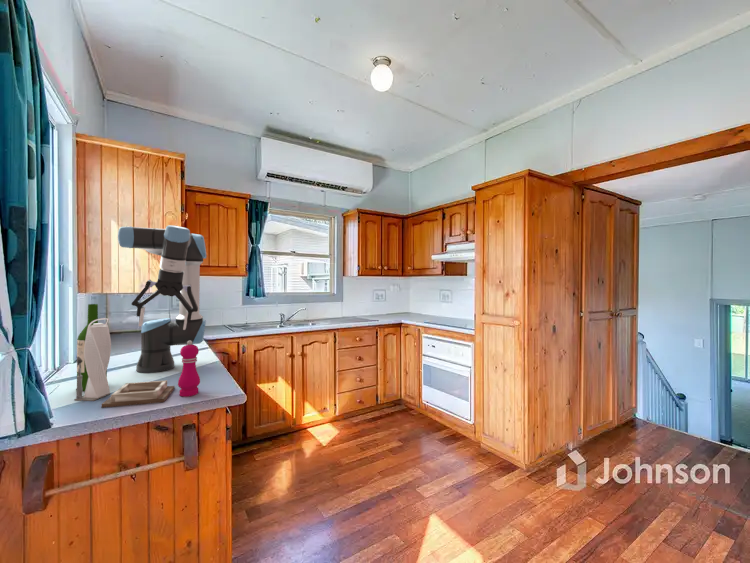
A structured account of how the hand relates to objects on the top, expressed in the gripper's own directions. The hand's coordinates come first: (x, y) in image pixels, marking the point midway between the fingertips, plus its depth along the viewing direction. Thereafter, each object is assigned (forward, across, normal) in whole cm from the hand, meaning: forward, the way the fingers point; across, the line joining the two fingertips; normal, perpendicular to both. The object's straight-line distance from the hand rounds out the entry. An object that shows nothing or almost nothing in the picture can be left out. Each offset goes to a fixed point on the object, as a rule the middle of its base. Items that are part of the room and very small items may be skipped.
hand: (163, 327), depth 121 cm
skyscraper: (+30, -18, +4) cm, 35 cm away
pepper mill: (+24, +12, -5) cm, 27 cm away
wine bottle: (+33, -22, +17) cm, 43 cm away
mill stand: (+26, -3, -3) cm, 27 cm away
